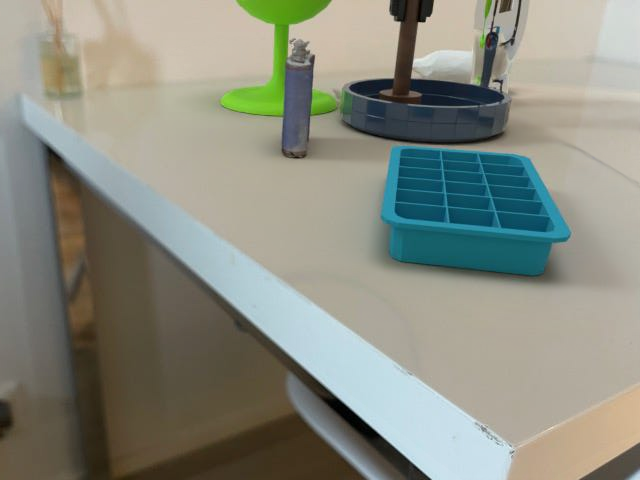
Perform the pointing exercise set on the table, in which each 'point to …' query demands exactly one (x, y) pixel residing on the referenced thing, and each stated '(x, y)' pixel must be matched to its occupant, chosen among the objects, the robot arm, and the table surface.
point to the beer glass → (496, 40)
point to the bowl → (427, 110)
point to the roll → (445, 65)
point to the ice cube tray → (469, 210)
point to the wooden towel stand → (405, 58)
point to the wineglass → (277, 58)
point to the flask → (297, 99)
